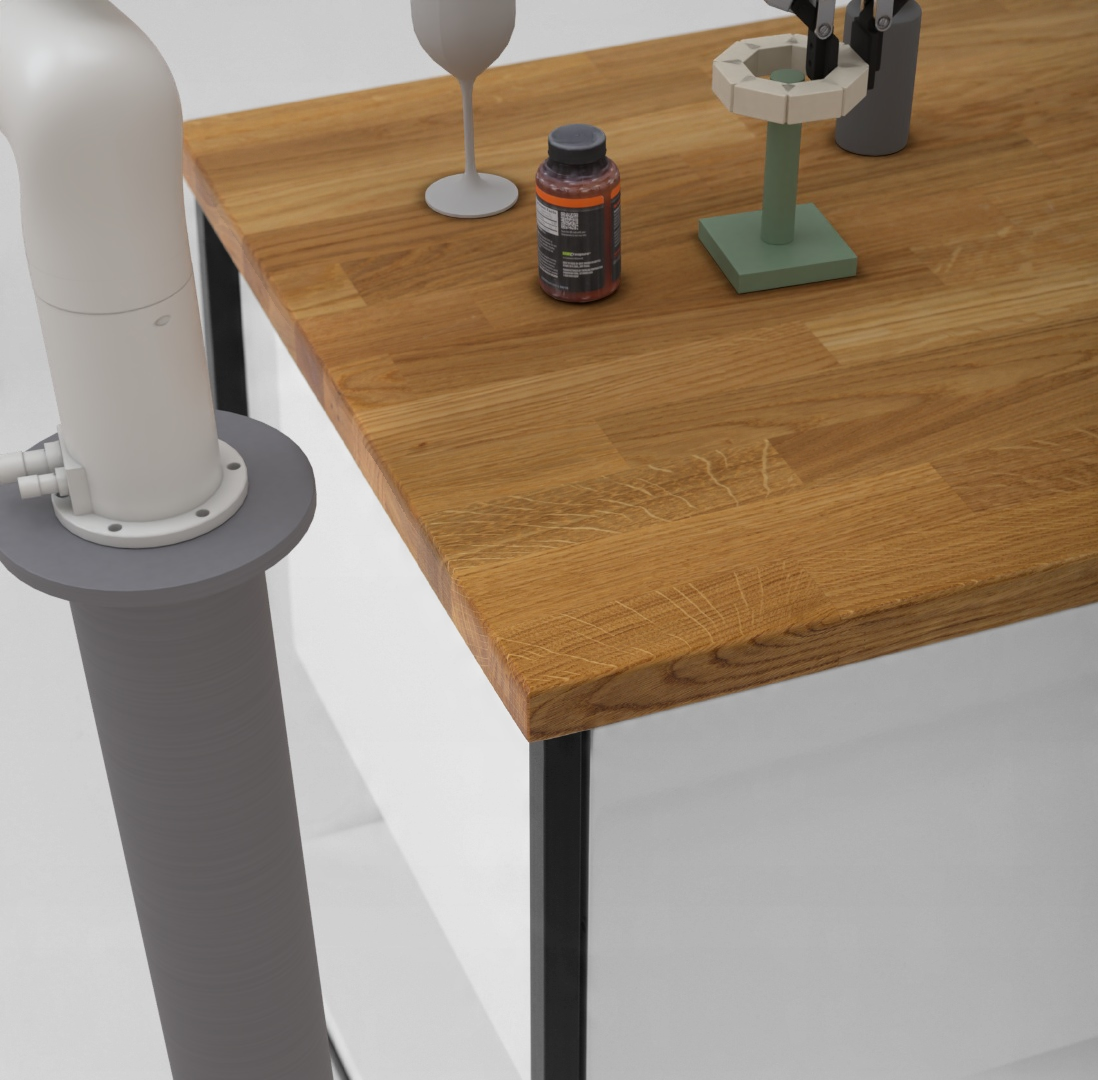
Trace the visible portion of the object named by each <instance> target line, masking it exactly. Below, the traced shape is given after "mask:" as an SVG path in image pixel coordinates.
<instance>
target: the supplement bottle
mask: <svg viewBox="0 0 1098 1080" xmlns="http://www.w3.org/2000/svg"><path fill="white" fill-rule="evenodd" d="M547 147H548V148H547V155H548V157H547V158H545V159H544V160H543V161H542V162H541V163H540V164H539V166H538V167H537V169H536V173H535V211H536V212H535V213H536V232H537V233H536V234H537V235H536V237H537V238H536V239H537V264H538V266H537V268H538V269H537V270H538V271H537V272H538V283H539V285H540V286H539V287H540V288H541V289H542V291H543V292H544V293H545V294H547V295H548V296H550V297H551V298H553V299H555V300H558V301H562V302H563V301H564V302H569V303H587V302H588V303H589V302H593V301H598V300H601V299H603V298H605V297H606V298H607V297H608V296H610V295H612V294H613V293H614V292H615V291H616V290H617V289H618V287H619V286H620V283H621V279H622V277H621V276H622V274H621V273H622V239H621V238H622V224H621V223H622V216H621V215H622V211H621V206H622V205H621V203H622V202H621V201H622V200H621V196H622V195H621V194H622V193H621V173H620V169H619V167H618V165H617V164H616V163H615V161H614V160H613V159H612V158H611V157H609V156H607V152H608V150H607V136H606V133H605V132H604V130H602V129H601V128H600V127H597V126H595V125H593V124H588V123H570V124H569V123H568V124H565V125H561V126H558V127H556V128H554V129H553V130H551V131H550V132H549V134H548V137H547Z"/></svg>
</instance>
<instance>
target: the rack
mask: <svg viewBox="0 0 1098 1080" xmlns="http://www.w3.org/2000/svg"><path fill="white" fill-rule="evenodd" d="M769 80H772V81H777V82H782V83H787V84H791V83H798V82H806V75H804V74H803V73H802V72H800V71H797V70H793V69H781V70H777V71H774V72H772V73H771V75H769ZM766 122H767V123H766V136H765V137H766V138H765V139H766V140H765V154H764V155H765V157H764V172H763V187H762V188H763V190H762V206H761V209H757V210H751V211H745V212H738V213H731V214H724V215H717V216H710V217H703V218H699V219H698V234H697V235H698V236H697V238H698V239H699V241H700V242H701V243H702V244H703V246H704V248H705V249H706V250H707V252H708V253H709V254H710V256H711V257H712V258H713V260H714V261H715V263H716V264H717V266H718V267H719V269H720V270H721V271H722V273H723V274H724V276H725V277H726V279H727V280H728V281H729V283H730V284H731V285H732V287H733V289H734V290H735V291H736V293H737V294H746V293H752V292H759V291H765V290H771V289H779V288H786V287H791V286H797V285H804V284H811V283H817V282H823V281H831V280H837V279H843V278H850V277H856V276H857V267H858V256H857V254H856V253H855V252H854V251H853V249H851V247H850V246H849V245H848V243H847V242H846V241H845V240H844V239H843V237H842V236H841V235H840V233H838V231H837V230H836V228H835V227H834V226H833V225H832V224H831V223H830V222H829V220H828V219H827V217H825V215H824V214H823V213H822V212H821V210H820V209H819V208H818V207H817V205H815V204H814V202H807V203H799V204H797V197H798V184H799V182H798V181H799V169H800V156H801V155H800V153H801V140H802V128H803V123H798V124H791V125H788V124H787V122H786V123H784V124H779V123H774V122H769V121H766Z"/></svg>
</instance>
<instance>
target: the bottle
mask: <svg viewBox="0 0 1098 1080" xmlns="http://www.w3.org/2000/svg"><path fill="white" fill-rule="evenodd" d="M860 12H861V0H850V1H849V2H848V3H847V5H846V8H845V14H844V23H843V24H844V25H843V36H842V43H845V45H849V46H850V40H851V28H852V22H853V21H854V17H858V16H859V13H860ZM922 17H923V10H922V7H921V5H920V4H919V3H918V2H917V1H916V0H908V2H907V3H906V4H905V5H904V6H903V7H902V8H901V9H900V10H899V11H898V13H897V14H896V15H895V16H894V17H893V18H892V24H891V26H890V28H889V29H888V30H886V31H884V33H883V44H882V54H881V65H880V69H879V71H875V81H874V88H873V89H871V90H867V93H866V96H865V97H864V98H863V99H862V100H861V101H860V102H859V103H858V104H857V105H856V106H855V107H854V108H853V109H852V110H850V111H849V112H848V113H847V114H846V115H845V116H841V117H840V118H835V135H834V138H835V142H836V144H837V145H838V146H839V147H840V148H842V150H845V151H847V152H850V153H853V154H858V155H861V156H885V155H890V154H891V155H892V154H893V153H897V152H899V151H901V150H903V149H904V148H905V147H906V146H907V145H908V143H909V142H908V141H909V135H910V128H911V127H910V126H911V119H912V109H913V100H914V92H915V84H916V74H917V65H918V56H919V46H920V35H921V27H922Z"/></svg>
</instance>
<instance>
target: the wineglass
mask: <svg viewBox="0 0 1098 1080" xmlns="http://www.w3.org/2000/svg"><path fill="white" fill-rule="evenodd" d="M516 3H517V2H516V0H410V15H411V23H412V27H413V32H414V35H415V36H416V39H417V41H418V43H419V45H420V47H421V48H422V50H423V51H424V52H425V53H426V54H427V55H428V57H430V59H431V60H432V61H433V62H435V63H436V64H437V65H438V66H439V67H441V68H442V69H444V71H446V72H447V73H448V74H450V75H451V76H453V77H454V78H456V80H457V82H458V84H459V86H460V91H461V96H462V114H463V135H464V136H463V137H464V139H463V140H464V158H465V159H464V160H465V163H464V164H465V165H464V173H463V172H462V173H456V174H452V175H447V176H445V177H443V178H440V179H438V180H436V181H434V182H433V183H431V184H430V185H429V186H428V187H427V189H426V191H425V193H424V197H425V199H424V200H425V203H426V204H427V206H428V207H429V208H430V209H431V210H432V211H433V212H437V213H438V214H440V215H444V216H448V217H451V218H457V219H478V218H479V219H480V218H487V217H492V216H495V215H498V214H502V213H504V212H506V211H507V210H509V209H511V208H512V207H513V206H514V205H515V204H516V203H517V202H518V199H519V189H518V187H517V186H516V184H515V183H514V182H512V181H511V180H510V179H507V178H505V177H503V176H501V175H496V174H493V173H485V172H478V171H477V167H476V155H475V153H476V152H475V131H474V108H473V92H474V91H473V90H474V84H475V82H476V80H477V77H479V76H480V75H481V74H483V73H484V72H485V71H486V70H487V69H488V68H489V67H490V66H491V65H492V64H493V63H495V62H496V61H497V60H498V59H499V57H500V56H501V55H502V54H503V52H504V51H505V50H506V48H507V47H508V45H509V44H510V41H511V39H512V36H513V34H514V30H515V26H516V16H517V4H516Z"/></svg>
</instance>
